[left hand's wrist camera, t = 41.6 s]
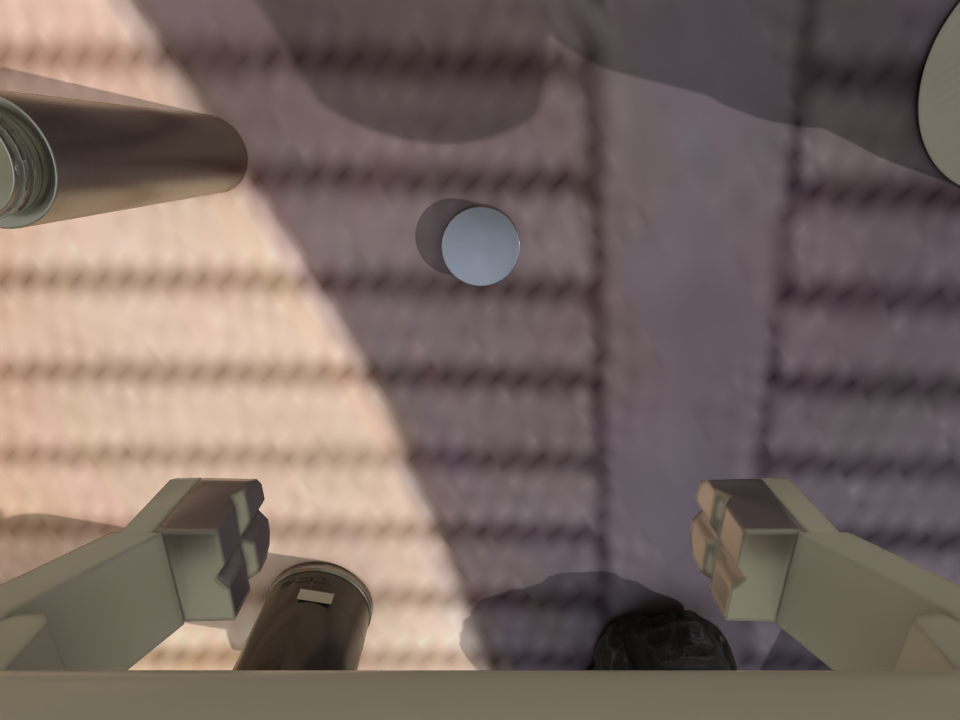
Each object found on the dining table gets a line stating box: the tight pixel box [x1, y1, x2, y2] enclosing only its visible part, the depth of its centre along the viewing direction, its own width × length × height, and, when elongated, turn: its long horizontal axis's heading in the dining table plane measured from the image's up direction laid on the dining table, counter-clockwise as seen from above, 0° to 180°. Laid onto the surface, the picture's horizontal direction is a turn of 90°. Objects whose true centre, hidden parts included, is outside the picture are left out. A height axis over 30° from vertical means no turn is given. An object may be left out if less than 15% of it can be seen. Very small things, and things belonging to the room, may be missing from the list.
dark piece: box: [0, 91, 247, 229], centre depth 28 cm, size 5×5×19 cm
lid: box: [441, 205, 520, 286], centre depth 38 cm, size 5×5×2 cm
